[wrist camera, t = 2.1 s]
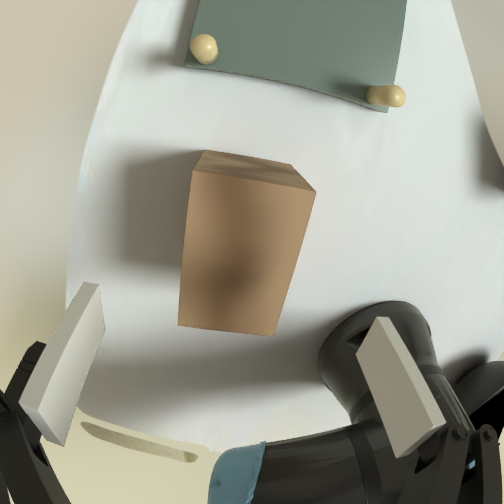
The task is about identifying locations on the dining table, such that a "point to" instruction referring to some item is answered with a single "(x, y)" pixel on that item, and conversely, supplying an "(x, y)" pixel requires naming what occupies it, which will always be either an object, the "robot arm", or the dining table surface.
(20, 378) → the robot arm
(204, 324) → the walnut block
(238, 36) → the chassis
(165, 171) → the dining table surface
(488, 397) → the bowl of black rocks
